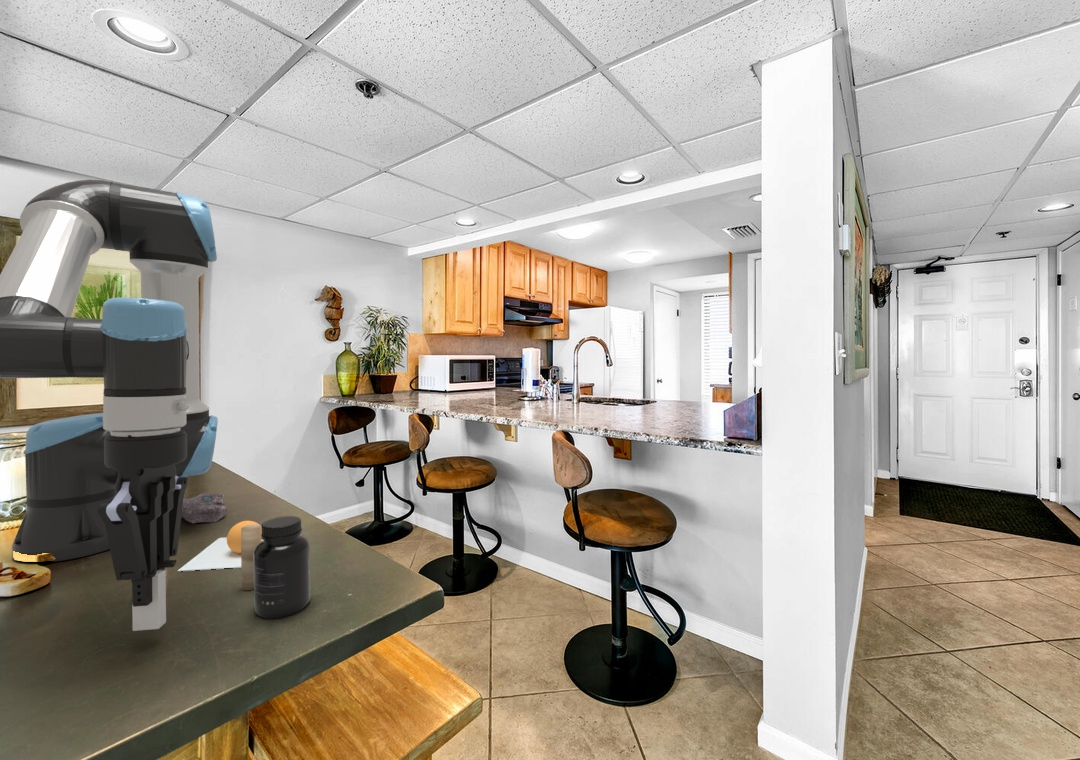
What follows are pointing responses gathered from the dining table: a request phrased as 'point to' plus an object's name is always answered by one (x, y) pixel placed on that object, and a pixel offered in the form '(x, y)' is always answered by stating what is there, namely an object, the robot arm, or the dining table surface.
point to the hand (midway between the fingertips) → (149, 626)
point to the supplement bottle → (281, 568)
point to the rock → (204, 508)
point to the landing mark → (214, 558)
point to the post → (248, 554)
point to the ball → (237, 536)
